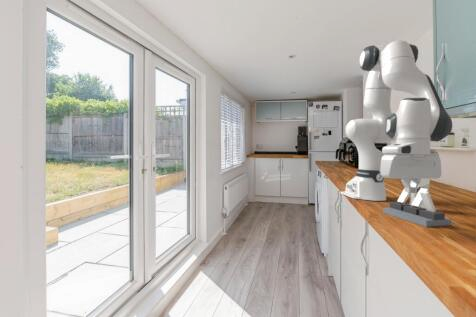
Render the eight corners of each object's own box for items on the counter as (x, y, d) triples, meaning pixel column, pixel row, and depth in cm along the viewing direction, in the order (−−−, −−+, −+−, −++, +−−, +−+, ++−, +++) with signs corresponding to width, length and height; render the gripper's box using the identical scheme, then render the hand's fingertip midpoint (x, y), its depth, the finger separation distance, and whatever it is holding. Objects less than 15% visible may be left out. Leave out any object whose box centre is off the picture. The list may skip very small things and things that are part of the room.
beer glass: (403, 207, 104) (405, 171, 104) (413, 206, 107) (415, 171, 106) (421, 211, 98) (423, 173, 97) (431, 210, 101) (434, 173, 100)
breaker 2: (411, 204, 88) (420, 188, 89) (413, 206, 89) (422, 189, 89) (417, 206, 86) (427, 189, 87) (419, 207, 86) (429, 190, 87)
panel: (383, 212, 95) (383, 202, 94) (404, 211, 97) (405, 201, 97) (426, 226, 78) (426, 214, 78) (451, 225, 80) (451, 213, 80)
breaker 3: (426, 210, 82) (419, 192, 81) (428, 208, 83) (421, 190, 82) (433, 212, 80) (426, 193, 79) (436, 210, 80) (428, 192, 79)
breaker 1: (397, 201, 94) (406, 185, 95) (398, 202, 94) (407, 186, 95) (402, 202, 92) (411, 186, 92) (404, 203, 92) (413, 187, 93)
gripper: (429, 149, 84) (427, 190, 84) (377, 147, 79) (375, 191, 80) (448, 149, 78) (446, 193, 78) (394, 147, 73) (392, 194, 73)
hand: (410, 192), depth 79 cm, fingers closed
